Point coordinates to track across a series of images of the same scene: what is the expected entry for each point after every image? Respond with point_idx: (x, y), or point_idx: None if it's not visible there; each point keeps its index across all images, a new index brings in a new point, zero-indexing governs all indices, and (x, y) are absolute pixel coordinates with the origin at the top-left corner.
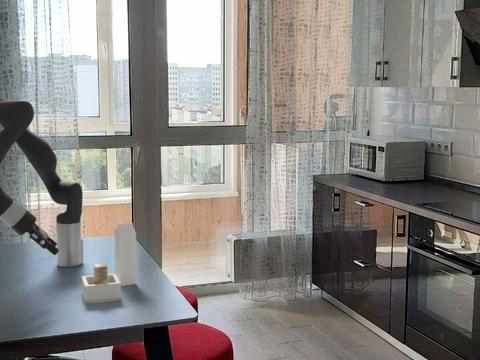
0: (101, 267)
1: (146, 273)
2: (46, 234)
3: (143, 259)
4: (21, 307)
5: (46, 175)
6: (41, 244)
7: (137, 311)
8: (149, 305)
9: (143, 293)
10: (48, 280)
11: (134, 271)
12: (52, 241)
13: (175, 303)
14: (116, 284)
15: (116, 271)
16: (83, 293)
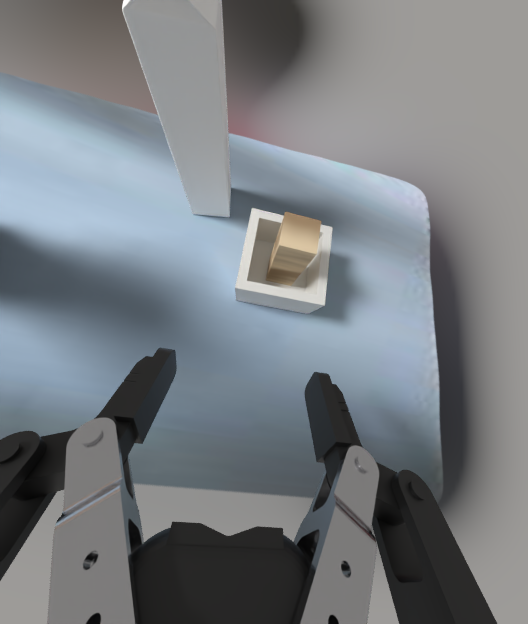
0: (318, 237)
1: None
2: (101, 457)
3: (48, 94)
4: (269, 450)
5: None
6: (394, 538)
7: (378, 247)
8: (357, 219)
9: (292, 200)
10: (81, 345)
11: (229, 163)
12: (158, 381)
13: (362, 182)
14: (330, 237)
15: (198, 193)
16: (273, 304)
